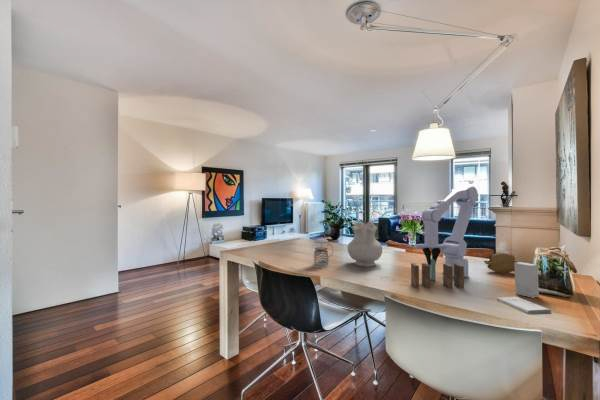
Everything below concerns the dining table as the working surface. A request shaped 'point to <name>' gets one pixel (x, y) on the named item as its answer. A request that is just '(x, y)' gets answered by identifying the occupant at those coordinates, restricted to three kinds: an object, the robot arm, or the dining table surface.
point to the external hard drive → (523, 305)
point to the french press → (320, 251)
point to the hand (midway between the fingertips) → (431, 264)
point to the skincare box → (526, 279)
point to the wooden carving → (501, 263)
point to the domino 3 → (432, 270)
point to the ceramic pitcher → (364, 244)
